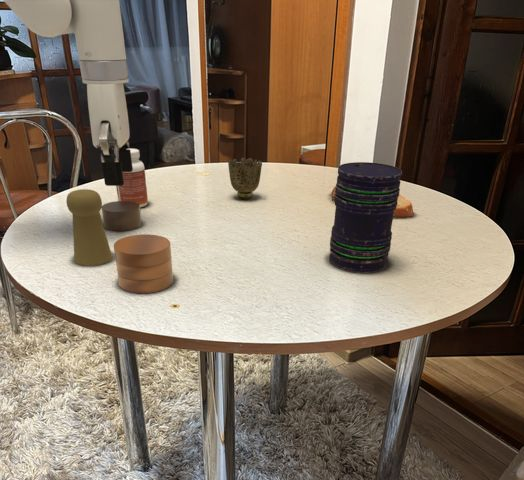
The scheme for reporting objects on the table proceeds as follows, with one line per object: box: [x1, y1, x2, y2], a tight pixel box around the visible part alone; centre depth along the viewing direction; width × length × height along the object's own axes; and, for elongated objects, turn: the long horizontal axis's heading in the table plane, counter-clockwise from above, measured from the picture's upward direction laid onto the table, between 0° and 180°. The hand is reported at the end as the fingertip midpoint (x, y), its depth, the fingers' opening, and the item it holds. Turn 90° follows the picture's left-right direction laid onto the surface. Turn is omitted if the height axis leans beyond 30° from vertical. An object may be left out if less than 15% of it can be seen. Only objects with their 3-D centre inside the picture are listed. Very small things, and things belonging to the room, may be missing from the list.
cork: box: [65, 188, 113, 267], centre depth 81 cm, size 6×6×11 cm
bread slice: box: [331, 185, 415, 219], centre depth 113 cm, size 18×18×4 cm
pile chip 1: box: [113, 233, 172, 267], centre depth 74 cm, size 8×8×2 cm
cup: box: [227, 157, 263, 201], centre depth 114 cm, size 8×7×8 cm
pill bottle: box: [115, 147, 149, 209], centre depth 106 cm, size 6×6×11 cm
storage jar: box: [328, 161, 403, 274], centre depth 82 cm, size 10×10×15 cm
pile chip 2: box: [115, 257, 173, 280], centre depth 75 cm, size 8×8×2 cm
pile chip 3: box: [116, 269, 174, 294], centre depth 76 cm, size 8×8×2 cm
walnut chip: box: [101, 200, 142, 232], centre depth 97 cm, size 7×7×4 cm
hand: (119, 178), depth 94 cm, fingers open, 9 cm apart
